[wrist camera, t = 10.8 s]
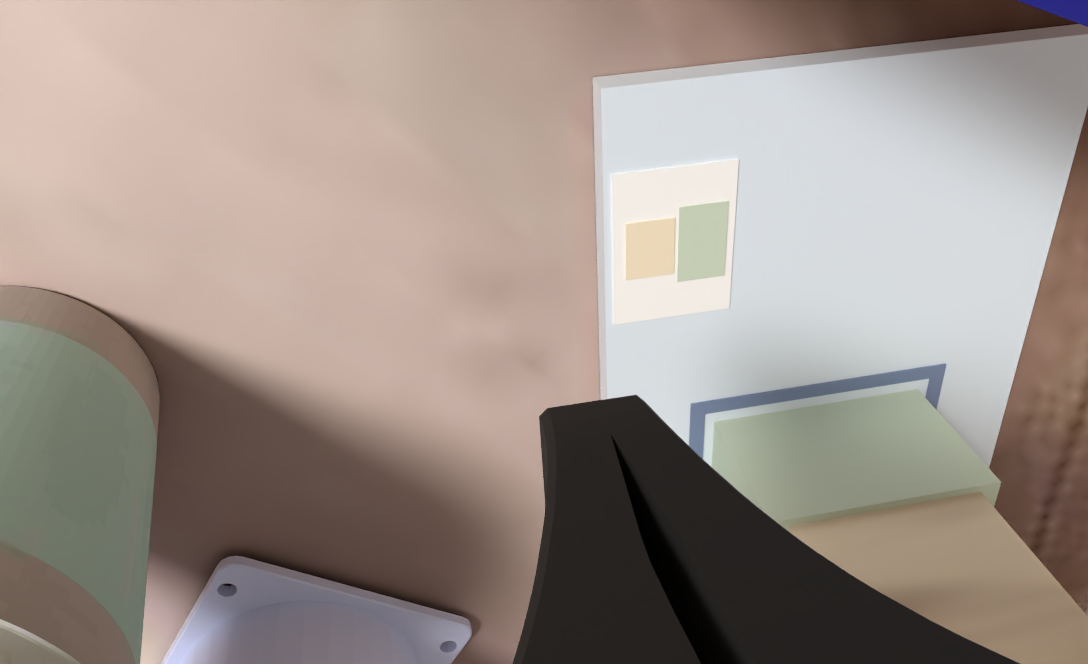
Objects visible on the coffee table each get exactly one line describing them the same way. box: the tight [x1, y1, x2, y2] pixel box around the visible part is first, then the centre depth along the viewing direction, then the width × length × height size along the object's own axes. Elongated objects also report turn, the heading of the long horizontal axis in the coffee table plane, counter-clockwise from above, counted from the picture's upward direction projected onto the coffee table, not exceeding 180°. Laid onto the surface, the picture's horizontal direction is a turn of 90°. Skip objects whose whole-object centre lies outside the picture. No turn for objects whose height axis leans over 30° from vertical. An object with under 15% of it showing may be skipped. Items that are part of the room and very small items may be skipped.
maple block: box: [788, 492, 1088, 664], centre depth 22 cm, size 5×5×5 cm
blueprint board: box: [593, 24, 1088, 468], centre depth 26 cm, size 18×12×1 cm, turn 3°
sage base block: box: [712, 389, 1001, 531], centre depth 26 cm, size 6×6×4 cm
